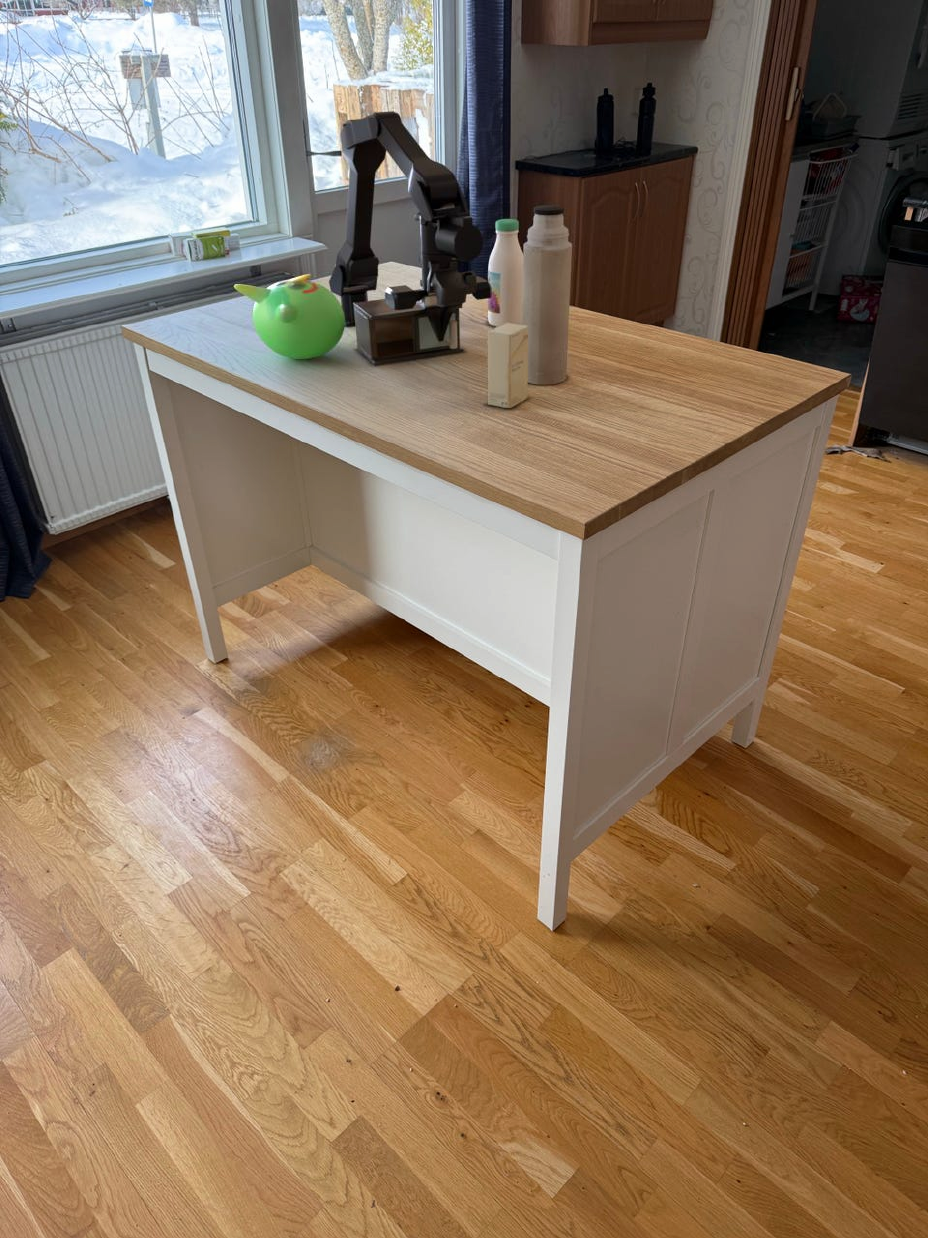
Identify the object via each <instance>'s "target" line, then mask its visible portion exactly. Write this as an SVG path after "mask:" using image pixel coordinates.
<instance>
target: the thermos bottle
mask: <svg viewBox="0 0 928 1238" xmlns="http://www.w3.org/2000/svg"><path fill="white" fill-rule="evenodd" d="M564 213H565V207H563V206H560V205H549V204H547V205H538V206H535V207H533V214H534V216H533V224H532V226H530V227H529V228H528V230H527V235H526V238H527V241H526V242H524V243H523V248H522V249H523V251H522V253H523V311H522V324H521V325H527V326H528V382H527V384H528V383H529V384H533V385H540V386H541V385H542V386H544V385H545V386H546V385H547V386H549V385H555V384H560V383H562V382H564V381H565V380H566V379H567V372H568V349H569V348H568V346H569V345H568V344H569V326H570V325H569V324H570V301H571V282H572V281H571V280H572V277H571V276H572V259H573V258H572V257H573V255H572V253H573V244H572V243H571V242H570V241H569V236H570V233H569V228H568V227H567V226H565V225H564V219H565V218H564Z"/></svg>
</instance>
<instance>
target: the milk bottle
mask: <svg viewBox="0 0 928 1238" xmlns="http://www.w3.org/2000/svg"><path fill="white" fill-rule="evenodd" d="M519 226H520V223H519V220H518V219H513V218H502V219H498V220H496V221H495V233H496V238H495V242H494V246H493V249H492V251H491V253H490V255H489V260H488V270H487V281H488V282H489V283H490V284H491V287H492V297H491V298H488V299H487V316H488V317H487V318H488V319H487V321H488V323H489V324H490V325H491V326H495V327H498V326H500V325H502V324H504V323H512V324H519V325H522V311H523V251H522V247H521V246H520V242H519V238H518V233H520V232H519Z"/></svg>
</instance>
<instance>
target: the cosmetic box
mask: <svg viewBox="0 0 928 1238" xmlns="http://www.w3.org/2000/svg"><path fill="white" fill-rule="evenodd" d="M487 386H488V387H487V395H488V396H487V403H488V405H489V406H494V407H499V408H502V409H503V408H504V409H512V408H513V407H515V406H517V405H518V404H521V403H522V402H523V401H525V400H526V399H528V326H527V325H522V324H521V325H519V324H512V323H504V324H502V325H500V326H495V327H494V328H492V329H490V330H488V331H487Z"/></svg>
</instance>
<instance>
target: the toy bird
mask: <svg viewBox="0 0 928 1238" xmlns="http://www.w3.org/2000/svg"><path fill="white" fill-rule="evenodd" d="M311 276H312V274H311V273H306V274H303V275H298V276H295V277H293V278H291V279H290V278H289V279H286V280H281V281H278V282H275V283H273V284H272V285H269V286H268V287H267V288H266V287H260V286H255V285H249V284H242V283H237V284H234V285H233V288H234V289H235V290H236V291H237V292H238V293H240V294H242V295H243V296H245V297H247V298H249V299H251V300H252V301H254V302H255V303H254V306H253V310H252V321H253V326H254V329H255V331H256V333H257V335H258V337H259V339H260V340H261V341H262V342H263V344H264V345H265V346H267V348H269V349H270V350H271V351H273V352H275V353H276V354H278V355H280V356H282V357H285V358H289V359H294V360H308V359H315V358H318V357H320V356H323V355H326V354H327V353H329V352H330V351H332V350H333V349H334V348H335V347H336V346H337V345H338V343H339V342H340V341H341V339H342V337H343V334H344V332H345V327H346V326H345V317H344V312H343V309H342V307H341V302H340V301H339V300H338V298H337V297H336V295H334V293H332V292H331V290H330V289H328V288H327V287H326V286H323V285H322V284H320V283H317V282H316V281H312V280H310V279H309V278H310V277H311ZM308 279H309V280H308Z"/></svg>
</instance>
